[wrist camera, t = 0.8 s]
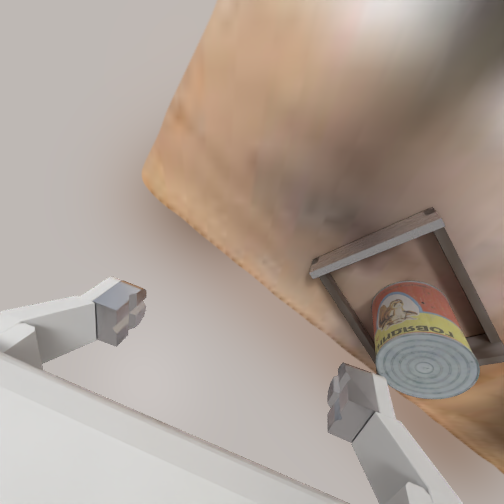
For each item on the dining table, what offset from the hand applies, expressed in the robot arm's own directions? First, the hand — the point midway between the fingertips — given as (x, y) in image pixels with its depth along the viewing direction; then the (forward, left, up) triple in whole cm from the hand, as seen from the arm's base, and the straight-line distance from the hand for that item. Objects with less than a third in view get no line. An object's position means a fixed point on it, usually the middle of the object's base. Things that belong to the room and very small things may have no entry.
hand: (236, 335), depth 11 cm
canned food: (-1, +27, -34) cm, 43 cm away
